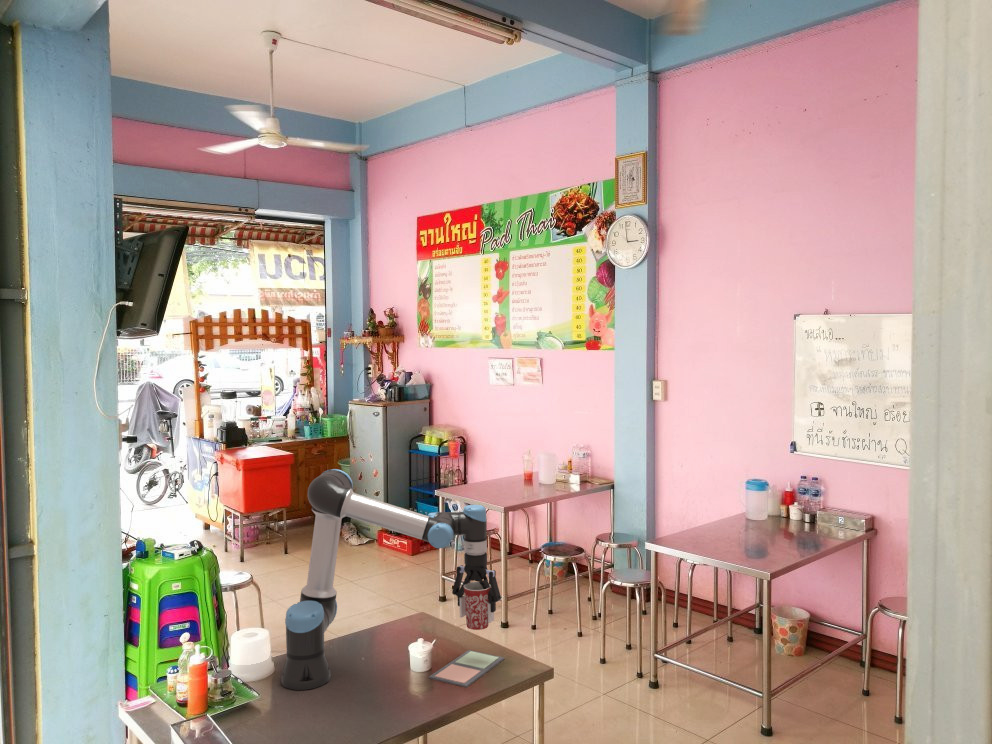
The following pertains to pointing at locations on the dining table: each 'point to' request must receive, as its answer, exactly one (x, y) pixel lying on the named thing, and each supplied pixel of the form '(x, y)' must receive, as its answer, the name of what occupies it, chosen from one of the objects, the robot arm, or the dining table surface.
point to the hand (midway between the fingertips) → (476, 618)
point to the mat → (466, 668)
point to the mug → (476, 606)
